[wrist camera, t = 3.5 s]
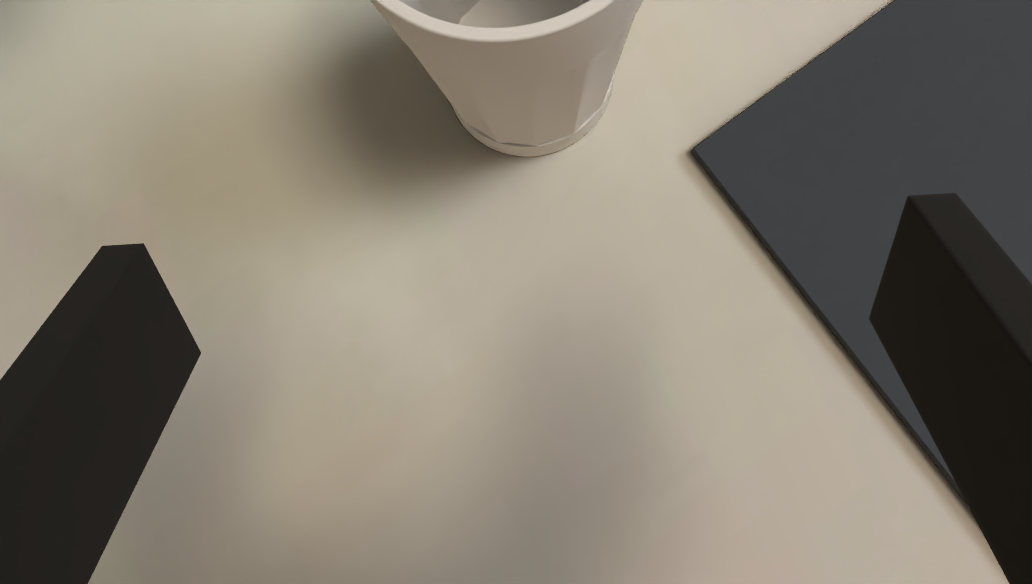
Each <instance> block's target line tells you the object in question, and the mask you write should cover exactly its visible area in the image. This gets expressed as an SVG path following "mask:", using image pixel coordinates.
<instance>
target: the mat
mask: <svg viewBox="0 0 1032 584" xmlns="http://www.w3.org/2000/svg"><path fill="white" fill-rule="evenodd" d="M691 152H692V154H693V155H694V156H695V158H696V159H697V160H698V161H699V163H700V164H701V165H702V167H703V168H704V169H705V170H706V172H707V173H708V174H709V175H710V177H711V178H712V179H713V181H714V182H715V183H716V184H717V186H718V187H719V188H720V190H721V191H722V192H723V193H724V195H725V196H726V197H727V198H728V200H729V201H730V202H731V204H732V205H733V206H734V207H735V209H736V210H737V211H738V213H739V214H740V215H741V216H742V218H743V219H744V220H745V221H746V223H747V224H748V225H749V227H750V228H751V229H752V230H753V232H754V233H755V234H756V236H757V237H758V238H759V239H760V241H761V242H762V243H763V244H764V246H765V247H766V248H767V250H768V251H769V252H770V253H771V255H772V256H773V257H774V259H775V260H776V261H777V262H778V264H779V265H780V266H781V267H782V269H783V270H784V271H785V273H786V274H787V275H788V276H789V278H790V279H791V280H792V282H793V283H794V284H795V285H796V287H797V288H798V289H799V290H800V292H801V293H802V294H803V296H804V297H805V298H806V299H807V301H808V302H809V303H810V305H811V306H812V307H813V308H814V310H815V311H816V312H817V313H818V315H819V316H820V317H821V319H822V320H823V321H824V322H825V324H826V325H827V326H828V328H829V329H830V330H831V331H832V333H833V334H834V335H835V336H836V338H837V339H838V340H839V342H840V343H841V344H842V345H843V347H844V348H845V349H846V351H847V352H848V353H849V354H850V356H851V357H852V358H853V359H854V361H855V362H856V363H857V365H858V366H859V367H860V368H861V370H862V371H863V372H864V374H865V375H866V376H867V377H868V379H869V380H870V381H871V382H872V384H873V385H874V386H875V388H876V389H877V390H878V391H879V393H880V394H881V395H882V397H883V398H884V399H885V400H886V402H887V403H888V404H889V405H890V407H891V408H892V409H893V411H894V412H895V413H896V414H897V416H898V417H899V418H900V420H901V421H902V422H903V423H904V425H905V426H906V427H907V428H908V430H909V431H910V432H911V434H912V435H913V436H914V437H915V439H916V440H917V441H918V443H919V444H920V445H921V446H922V448H923V449H924V450H925V451H926V453H927V454H928V455H929V457H930V458H931V459H932V460H933V462H934V463H935V464H936V466H937V467H938V468H939V469H940V471H941V472H942V473H943V474H944V476H945V477H946V478H947V480H948V481H949V482H950V483H951V485H952V486H953V487H954V489H955V490H956V491H957V492H958V494H959V495H960V496H961V497H962V499H963V500H964V501H965V499H964V497H963V495H962V493H961V491H960V489H959V487H958V486H957V484H956V482H955V480H954V478H953V476H952V474H951V472H950V471H949V469H948V467H947V465H946V463H945V461H944V459H943V457H942V455H941V454H940V452H939V450H938V448H937V446H936V444H935V442H934V440H933V439H932V437H931V435H930V433H929V431H928V429H927V427H926V425H925V423H924V422H923V420H922V418H921V416H920V414H919V412H918V410H917V408H916V407H915V405H914V403H913V401H912V399H911V397H910V395H909V393H908V391H907V390H906V388H905V386H904V384H903V382H902V380H901V378H900V376H899V375H898V373H897V371H896V369H895V367H894V365H893V363H892V361H891V359H890V358H889V356H888V354H887V352H886V350H885V348H884V346H883V344H882V343H881V341H880V339H879V337H878V335H877V333H876V331H875V329H874V327H873V326H872V324H871V322H870V320H869V316H870V313H871V310H872V307H873V304H874V300H875V297H876V294H877V291H878V288H879V285H880V281H881V278H882V275H883V272H884V269H885V266H886V262H887V259H888V256H889V253H890V250H891V247H892V243H893V240H894V237H895V234H896V231H897V228H898V224H899V221H900V218H901V215H902V212H903V209H904V206H905V202H906V199H907V196H912V195H928V194H944V193H956V194H957V195H958V196H959V197H960V198H961V200H962V201H963V202H964V203H965V204H966V206H967V207H968V208H969V209H970V210H971V212H972V213H973V214H974V215H975V216H976V218H977V219H978V220H979V221H980V222H981V224H982V225H983V226H984V227H985V229H986V230H987V231H988V232H989V233H990V235H991V236H992V237H993V238H994V239H995V241H996V242H997V243H998V244H999V245H1000V247H1001V248H1002V249H1003V250H1004V251H1005V253H1006V254H1007V255H1008V256H1009V257H1010V259H1011V260H1012V261H1013V262H1014V263H1015V265H1016V266H1017V267H1018V268H1019V269H1020V271H1021V272H1022V273H1023V274H1024V275H1025V277H1026V278H1027V279H1028V280H1029V281H1030V283H1031V284H1032V0H894V1H893V2H892V3H890V4H889V5H887V6H886V7H885V8H883V9H882V10H881V11H879V12H878V13H877V14H875V15H874V16H872V17H871V18H870V19H868V20H867V21H866V22H864V23H863V24H862V25H860V26H859V27H857V28H856V29H855V30H853V31H852V32H851V33H849V34H848V35H847V36H845V37H844V38H842V39H841V40H840V41H838V42H837V43H836V44H834V45H833V46H832V47H830V48H829V49H827V50H826V51H825V52H823V53H822V54H821V55H819V56H818V57H816V58H815V59H814V60H812V61H811V62H810V63H808V64H807V65H806V66H804V67H803V68H801V69H800V70H799V71H797V72H796V73H795V74H793V75H792V76H791V77H789V78H788V79H786V80H785V81H784V82H782V83H781V84H780V85H778V86H777V87H776V88H774V89H773V90H771V91H770V92H769V93H767V94H766V95H765V96H763V97H762V98H761V99H759V100H758V101H756V102H755V103H754V104H752V105H751V106H750V107H748V108H747V109H746V110H744V111H743V112H741V113H740V114H739V115H737V116H736V117H735V118H733V119H732V120H731V121H729V122H728V123H726V124H725V125H724V126H722V127H721V128H720V129H718V130H717V131H716V132H714V133H713V134H711V135H710V136H709V137H707V138H706V139H705V140H703V141H702V142H701V143H699V144H698V145H696V146H695V147H694V148H693V149H692V151H691ZM965 503H966V504H967V502H966V501H965ZM967 505H968V504H967Z"/></svg>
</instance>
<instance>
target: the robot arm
mask: <svg viewBox="0 0 1032 584" xmlns="http://www.w3.org/2000/svg"><path fill="white" fill-rule="evenodd" d="M869 320H870V322H871V324H872V326H873V327H874V329H875V331H876V333H877V335H878V337H879V339H880V341H881V343H882V344H883V346H884V348H885V350H886V352H887V354H888V356H889V358H890V359H891V361H892V363H893V365H894V367H895V369H896V371H897V373H898V375H899V376H900V378H901V380H902V382H903V384H904V386H905V388H906V390H907V391H908V393H909V395H910V397H911V399H912V401H913V403H914V405H915V407H916V408H917V410H918V412H919V414H920V416H921V418H922V420H923V422H924V423H925V425H926V427H927V429H928V431H929V433H930V435H931V437H932V439H933V440H934V442H935V444H936V446H937V448H938V450H939V452H940V454H941V455H942V457H943V459H944V461H945V463H946V465H947V467H948V469H949V471H950V472H951V474H952V476H953V478H954V480H955V482H956V484H957V486H958V487H959V489H960V491H961V493H962V495H963V497H964V499H965V501H966V502H967V504H968V506H969V508H970V510H971V512H972V514H973V516H974V518H975V519H976V521H977V523H978V525H979V527H980V529H981V531H982V533H983V534H984V536H985V538H986V540H987V542H988V544H989V546H990V548H991V550H992V551H993V553H994V555H995V557H996V559H997V561H998V563H999V565H1000V566H1001V568H1002V570H1003V572H1004V574H1005V576H1006V578H1007V580H1008V582H1009V583H1010V584H1032V284H1031V283H1030V281H1029V280H1028V279H1027V278H1026V277H1025V275H1024V274H1023V273H1022V272H1021V271H1020V269H1019V268H1018V267H1017V266H1016V265H1015V263H1014V262H1013V261H1012V260H1011V259H1010V257H1009V256H1008V255H1007V254H1006V253H1005V251H1004V250H1003V249H1002V248H1001V247H1000V245H999V244H998V243H997V242H996V241H995V239H994V238H993V237H992V236H991V235H990V233H989V232H988V231H987V230H986V229H985V227H984V226H983V225H982V224H981V222H980V221H979V220H978V219H977V218H976V216H975V215H974V214H973V213H972V212H971V210H970V209H969V208H968V207H967V206H966V204H965V203H964V202H963V201H962V200H961V198H960V197H959V196H958V195H957V194H956V193H944V194H928V195H912V196H907V199H906V202H905V206H904V209H903V212H902V215H901V218H900V221H899V224H898V228H897V231H896V234H895V237H894V240H893V243H892V247H891V250H890V253H889V256H888V259H887V262H886V266H885V269H884V272H883V275H882V278H881V281H880V285H879V288H878V291H877V294H876V297H875V300H874V304H873V307H872V310H871V313H870V316H869ZM200 354H201V352H200V350H199V348H198V346H197V344H196V342H195V340H194V338H193V336H192V334H191V333H190V331H189V329H188V327H187V325H186V323H185V321H184V319H183V317H182V315H181V314H180V312H179V310H178V308H177V306H176V304H175V302H174V300H173V298H172V296H171V295H170V293H169V291H168V289H167V287H166V285H165V283H164V281H163V279H162V277H161V276H160V274H159V272H158V270H157V268H156V266H155V264H154V262H153V260H152V258H151V257H150V255H149V253H148V251H147V249H146V247H145V245H144V243H143V244H127V245H111V246H102V247H101V248H100V250H99V251H98V252H97V254H96V255H95V256H94V258H93V259H92V260H91V262H90V263H89V264H88V266H87V267H86V268H85V270H84V271H83V272H82V273H81V275H80V276H79V277H78V279H77V280H76V281H75V283H74V284H73V285H72V287H71V288H70V289H69V291H68V292H67V293H66V294H65V296H64V297H63V298H62V300H61V301H60V302H59V304H58V305H57V306H56V308H55V309H54V310H53V312H52V313H51V314H50V316H49V317H48V318H47V319H46V321H45V322H44V323H43V325H42V326H41V327H40V329H39V330H38V331H37V333H36V334H35V335H34V337H33V338H32V339H31V341H30V342H29V343H28V344H27V346H26V347H25V348H24V350H23V351H22V352H21V354H20V355H19V356H18V358H17V359H16V360H15V362H14V363H13V364H12V365H11V367H10V368H9V369H8V371H7V372H6V373H5V375H4V376H3V377H2V379H1V380H0V584H88V582H89V580H90V578H91V576H92V574H93V572H94V570H95V568H96V566H97V564H98V562H99V559H100V557H101V555H102V553H103V551H104V549H105V547H106V545H107V543H108V541H109V539H110V537H111V535H112V533H113V531H114V529H115V527H116V525H117V523H118V521H119V519H120V517H121V515H122V513H123V511H124V509H125V507H126V505H127V503H128V501H129V498H130V496H131V494H132V492H133V490H134V488H135V486H136V484H137V482H138V480H139V478H140V476H141V474H142V472H143V470H144V468H145V466H146V464H147V462H148V460H149V458H150V456H151V454H152V452H153V450H154V448H155V446H156V444H157V442H158V440H159V438H160V435H161V433H162V431H163V429H164V427H165V425H166V423H167V421H168V419H169V417H170V415H171V413H172V411H173V409H174V407H175V405H176V403H177V401H178V399H179V397H180V395H181V393H182V391H183V389H184V387H185V385H186V383H187V381H188V379H189V377H190V374H191V372H192V370H193V368H194V366H195V364H196V362H197V360H198V358H199V356H200Z"/></svg>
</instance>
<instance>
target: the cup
mask: <svg viewBox="0 0 1032 584" xmlns="http://www.w3.org/2000/svg"><path fill="white" fill-rule="evenodd" d="M371 2H372V3H373V4H374V5H375V7H376V8H377V9H378V10H379V12H380V13H381V14H382V15H383V17H384V18H385V19H386V20H387V22H388V23H389V24H390V25H391V27H392V28H393V29H394V30H395V32H396V33H397V34H398V35H399V37H400V38H401V39H402V40H403V41H404V42H405V43H406V44H407V45H408V47H409V48H410V49H411V51H412V52H413V53H414V55H415V56H416V57H417V59H418V60H419V61H420V63H421V64H422V65H423V67H424V68H425V69H426V71H427V72H428V73H429V75H430V76H431V77H432V79H433V80H434V81H435V83H436V84H437V85H438V87H439V88H440V89H441V91H442V92H443V93H444V95H445V96H446V97H447V99H448V100H449V102H450V103H451V105H452V107H453V109H454V111H455V113H456V115H457V117H458V119H459V120H460V122H461V123H462V125H463V126H464V127H465V128H466V129H467V131H468V132H469V133H470V134H471V135H473V136H474V137H475V138H476V139H477V140H479V141H480V142H481V143H483V144H485V145H486V146H488V147H490V148H492V149H494V150H496V151H499V152H502V153H505V154H509V155H514V156H524V157H532V156H541V155H547V154H551V153H554V152H557V151H560V150H562V149H564V148H566V147H568V146H570V145H572V144H574V143H575V142H577V141H578V140H579V139H581V138H582V137H583V136H584V135H586V134H587V133H588V132H589V131H590V130H591V129H592V127H593V126H594V125H595V124H596V123H597V121H598V120H599V118H600V117H601V115H602V114H603V112H604V110H605V108H606V106H607V103H608V101H609V98H610V94H611V90H612V85H613V79H614V73H615V69H616V66H617V63H618V61H619V58H620V55H621V52H622V50H623V47H624V44H625V41H626V39H627V36H628V33H629V31H630V28H631V25H632V22H633V20H634V17H635V14H636V13H637V11H638V9H639V8H640V6H641V4H642V2H643V0H371Z"/></svg>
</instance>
